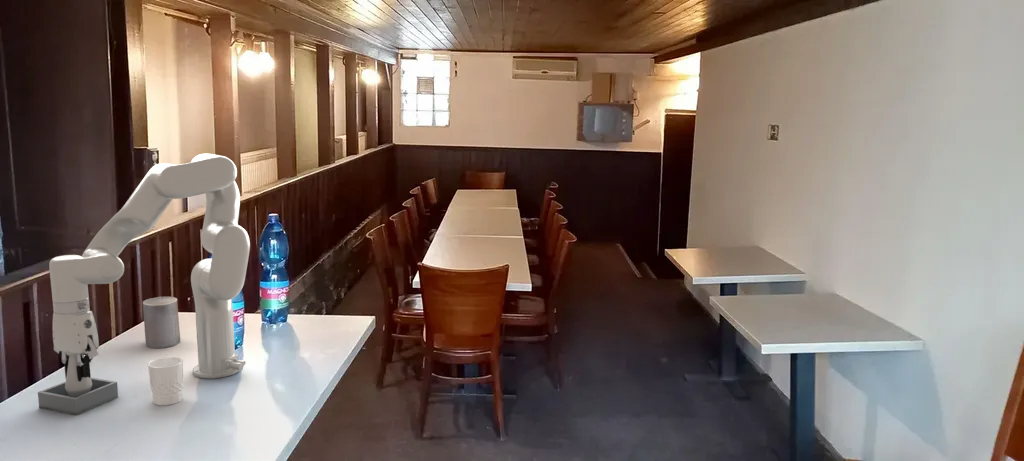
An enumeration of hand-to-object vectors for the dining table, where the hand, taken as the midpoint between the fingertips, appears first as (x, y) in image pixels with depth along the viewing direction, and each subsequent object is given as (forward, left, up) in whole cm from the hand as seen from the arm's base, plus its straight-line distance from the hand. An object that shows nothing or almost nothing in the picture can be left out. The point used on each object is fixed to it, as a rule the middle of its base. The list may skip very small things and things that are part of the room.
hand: (78, 378), depth 183 cm
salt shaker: (0, 0, -5) cm, 5 cm away
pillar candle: (+16, -43, -7) cm, 46 cm away
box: (0, 0, -6) cm, 6 cm away
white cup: (-19, -9, -7) cm, 22 cm away
